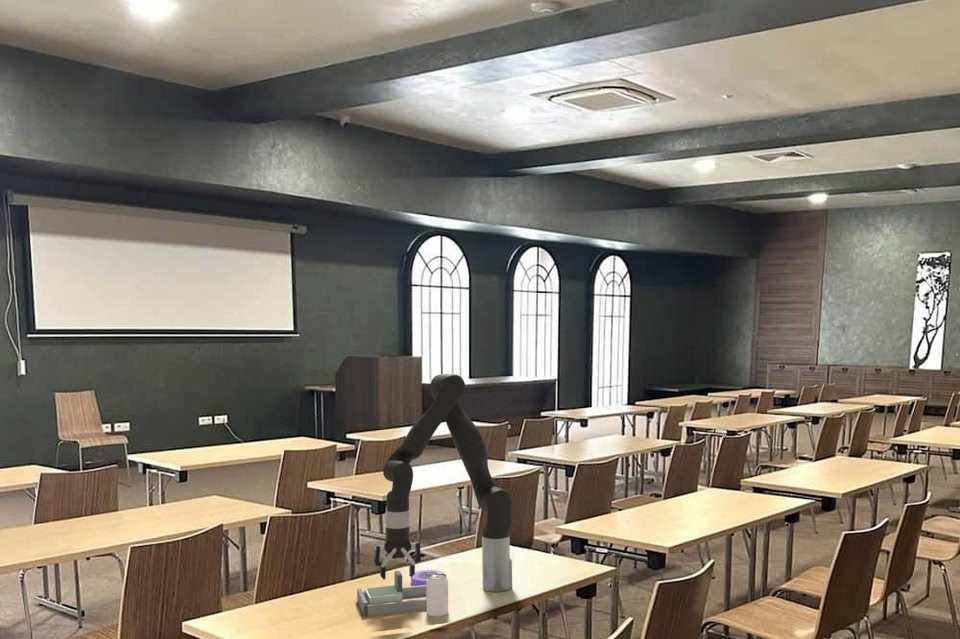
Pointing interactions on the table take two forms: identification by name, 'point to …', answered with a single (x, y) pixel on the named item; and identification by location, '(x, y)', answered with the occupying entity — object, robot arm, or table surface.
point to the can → (437, 594)
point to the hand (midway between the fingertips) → (397, 577)
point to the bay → (394, 606)
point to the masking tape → (422, 577)
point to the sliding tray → (385, 592)
